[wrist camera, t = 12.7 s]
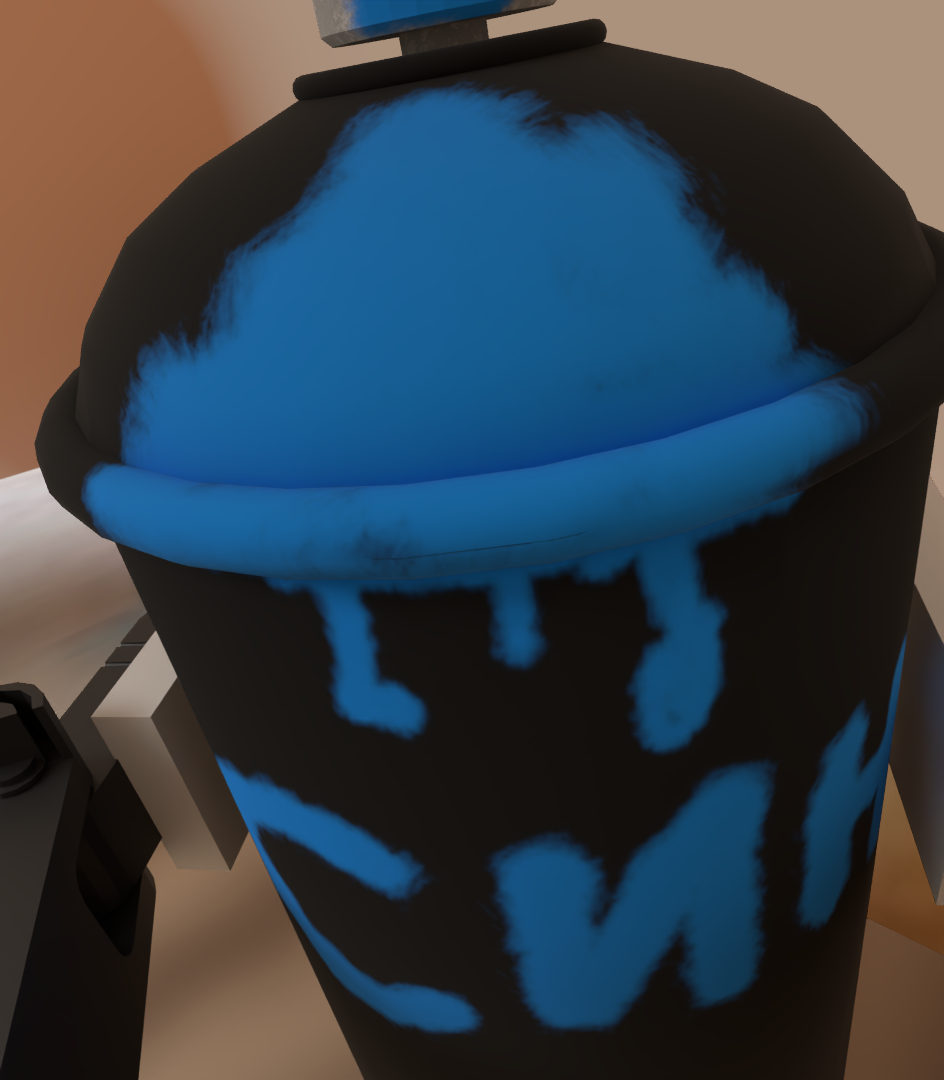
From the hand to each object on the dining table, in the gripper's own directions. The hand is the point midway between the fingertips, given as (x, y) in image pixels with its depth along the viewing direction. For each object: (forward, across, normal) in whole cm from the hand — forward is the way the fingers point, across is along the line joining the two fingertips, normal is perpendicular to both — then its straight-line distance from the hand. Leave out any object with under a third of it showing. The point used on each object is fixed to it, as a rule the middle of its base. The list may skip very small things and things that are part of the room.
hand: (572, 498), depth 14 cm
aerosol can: (-5, 0, -11) cm, 12 cm away
